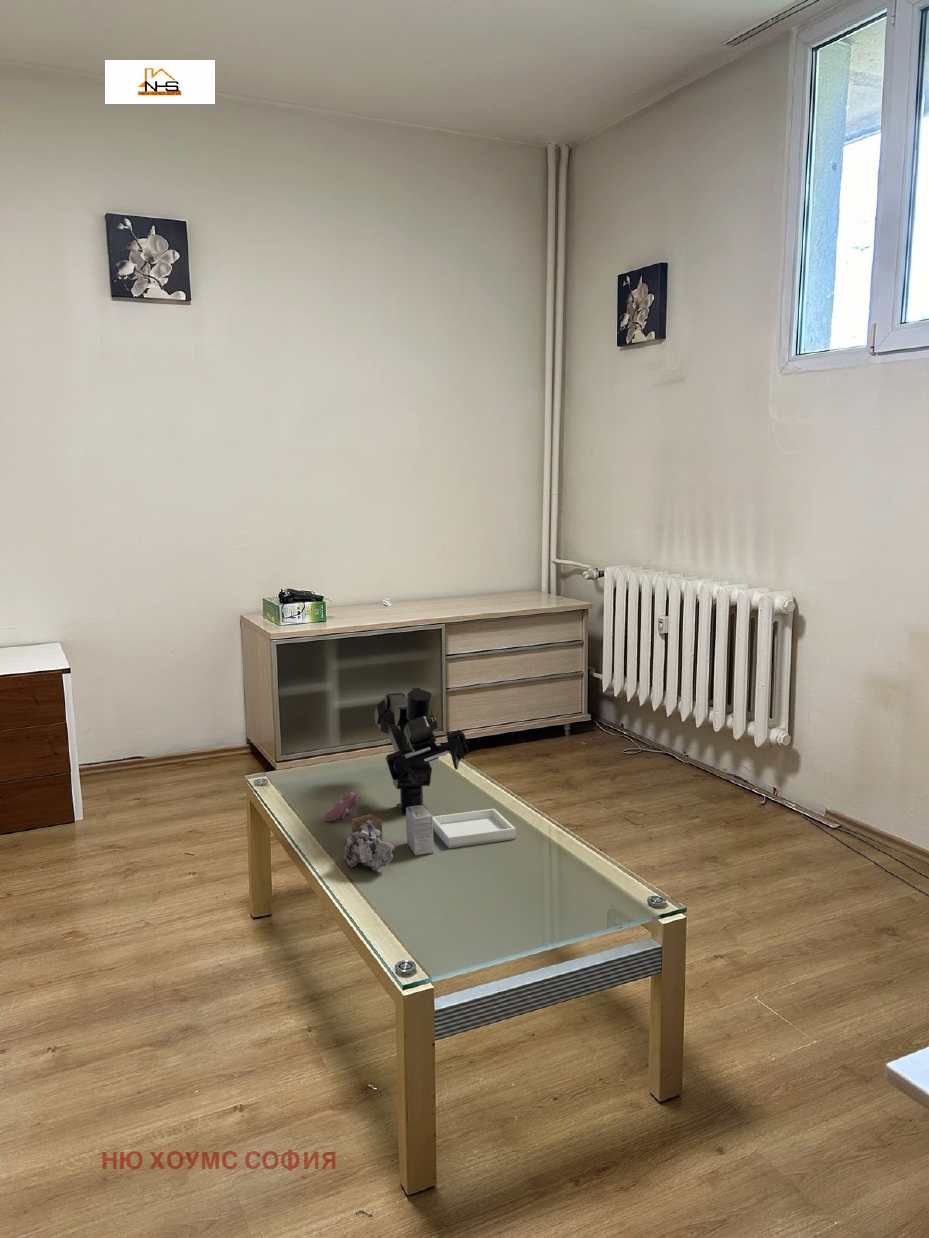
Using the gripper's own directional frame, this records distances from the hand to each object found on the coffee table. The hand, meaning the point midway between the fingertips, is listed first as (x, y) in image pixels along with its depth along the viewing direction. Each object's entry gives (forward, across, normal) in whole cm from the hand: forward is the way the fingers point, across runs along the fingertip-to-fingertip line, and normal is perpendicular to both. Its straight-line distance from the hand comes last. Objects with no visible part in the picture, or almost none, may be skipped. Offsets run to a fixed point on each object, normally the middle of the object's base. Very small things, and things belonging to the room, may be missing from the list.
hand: (436, 774), depth 205 cm
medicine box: (+5, -9, +14) cm, 17 cm away
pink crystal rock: (-20, -23, +18) cm, 35 cm away
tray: (0, +4, +20) cm, 20 cm away
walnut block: (-4, -19, +14) cm, 24 cm away
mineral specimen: (+10, -21, +9) cm, 25 cm away
